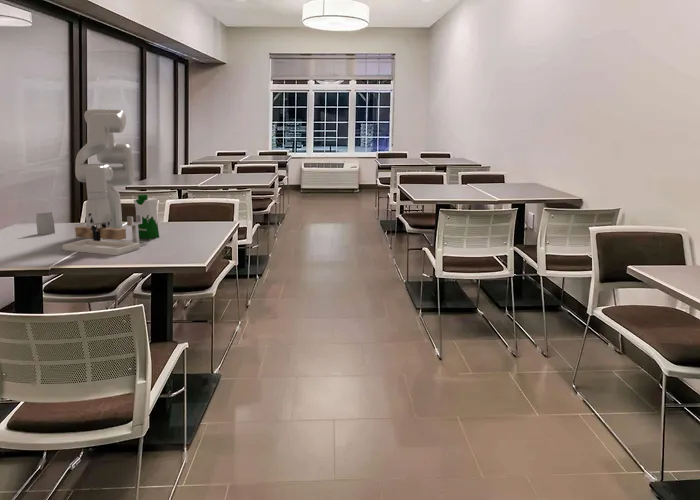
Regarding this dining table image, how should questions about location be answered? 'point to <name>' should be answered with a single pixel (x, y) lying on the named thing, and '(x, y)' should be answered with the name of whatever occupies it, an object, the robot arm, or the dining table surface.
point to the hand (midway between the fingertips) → (100, 239)
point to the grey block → (45, 223)
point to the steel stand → (134, 230)
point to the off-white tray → (101, 247)
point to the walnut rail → (101, 233)
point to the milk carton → (147, 217)
